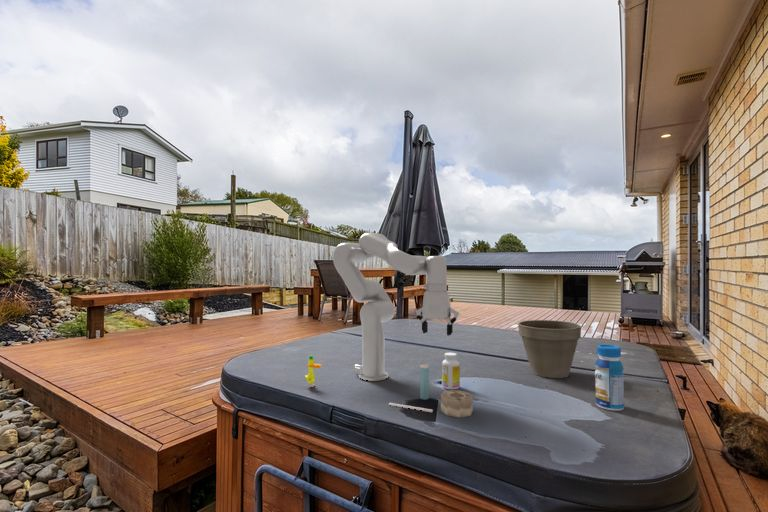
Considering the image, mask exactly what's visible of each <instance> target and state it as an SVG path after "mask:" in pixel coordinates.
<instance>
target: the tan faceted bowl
mask: <svg viewBox="0 0 768 512" xmlns="http://www.w3.org/2000/svg"><path fill="white" fill-rule="evenodd" d="M473 406H474V395H473V394H471V393H469V392H467V391H466V390H465V391H464V390H459V389H456V390H444V391H443V392H441V395H440V411H441V413H443V414H445V415H446V416H448V417H455V418H466V417H469V416H472V413H473V411H474V407H473Z"/></svg>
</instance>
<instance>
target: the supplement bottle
mask: <svg viewBox="0 0 768 512" xmlns="http://www.w3.org/2000/svg"><path fill="white" fill-rule="evenodd" d="M457 358H458V354H457V353H455V352H445V353H444V359H443V361H442V363H441V367H442V368H441V370H442V371H441V372H442V373H441V377H442V378H441V379H442V382H441V383H442V384H441V385H442V388H444V389H446V390H448V391H450V390H459V389H460V387H461V384H460V383H461V381H460V379H461V377H460V376H461V375H460V374H461V373H460V372H461V371H460V369H461V368H460V365H461V364H460V361H458V360H457Z"/></svg>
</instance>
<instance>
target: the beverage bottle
mask: <svg viewBox="0 0 768 512" xmlns="http://www.w3.org/2000/svg"><path fill="white" fill-rule="evenodd" d="M596 348H597V350H596V351H597V356H598V358H597V359H596V361H595V364H594V367H595V368H596V369H595V371H594V376H595V405H596V406H598V407H599V408H601V409H604V410H607V411H611V412H612V411H613V412H616V411H617V412H618V411H619V412H620V411H623V410H624V408H625V397H624V396H625V395H624V393H625V392H624V391H625V390H624V386H625V385H624V384H625V383H624V380H625V373H624V369H625V367H624V366H623V363H622V362H621V360H620V359H621V356H622V351H621V350H622V349H621V347H620V346H618V345H613V344H598V345H597V347H596Z"/></svg>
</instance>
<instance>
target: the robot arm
mask: <svg viewBox="0 0 768 512" xmlns="http://www.w3.org/2000/svg"><path fill="white" fill-rule="evenodd" d="M374 257H376V258H378V259H380V260H382V261H385V262H386V263H385V264H387V265H389V266H390V267H391V268H393V269H394V270H396V271H398V272H400V273H402V274H404V275H407V276H408V275H409V276H422V275H423V276H424V275H426V284H424V285H423V289H425V290H426V291H424V293H423V299H422V306H421V307H420V308H417V309H416V310H415V314H416V316H417V319H419V321H420V323H421V331H422V334H427V333H428V331H429V330H428V326H429V325H428V321H427V320H428V319H429V320H431V319H432V320H445V322H447V324H446V336H448V337H449V336H452V334H453V328H454V326H453V325H454V323H455V322H456V321H458V318H459V316H460V312H459V311H457V310H455V309H453V308H452V307H451V299H450V294H449V291H447V289H448V288H447V287H448V286H447V285H448V283H447V279H448V278H447V277H448V276H447V270H448V269H447V258H446V256H442V255H429V256H424V255H413V254H412V255H411V254H409V253H407V252H404V251H403V250H400V249H398V245H397V243H396V242H393V241H392V240H390V239H388V238H387V237H386V236H385V235H384V234H381V233H378V232H377V233H375V232H364V233H363V234H362V235H361V236H360V237H359V238H358V243H356V242H342V243H339V244H338V245H337V246H335V248H334V251H333V255H332V262H333V265H334V268H335V269H336V271H337V273H338V274H339V276H340V277H341V279H342V281H343V282H344V284H345V286H346V287H347V289H348V292H349V293H350V294H351V296H352V298H353V300H354V301H355V302H357V303H364V304H363V305H362V306H361V308H360V311H359V319H360V324H361V365H360V364H354V368H353V369H354V371H357V372H358V376H359V377H358V376H357V377H358V379H360V378H361V379H360V380H362V379H363V380H362V381H366V380H368V381H367V382H379V381H384V380H387V379H388V378H389V373H388V372H387V371H385V367H386V366H385V364H386V363H385V360H386V359H385V356H386V355H385V354H386V353H385V350H386V349H385V345H386V344H385V343H386V342H385V341H386V340H385V335H386V333H385V329H384V326H383V324H382V323H387V322H389V321H391V320H392V319H393V318H394V317H395V313H396V309H395V306H394V304H393V302H392V299H391V298H390V297H389V295H388V293H387V292H386V290H385V288H384V287H383V285H382V284H381V283H380V282H378V280H374V279H369V280H367V279H366V278H365V276H364V275H363V273H362V271H361V270H360V269H359V268H358V266H357V265H355V264H354V263H356V262H357V263H362V262H365V261H367V260H370V259H372V258H374ZM452 314H453V315H454V316H453V317H451V315H452ZM386 378H387V379H386Z"/></svg>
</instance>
